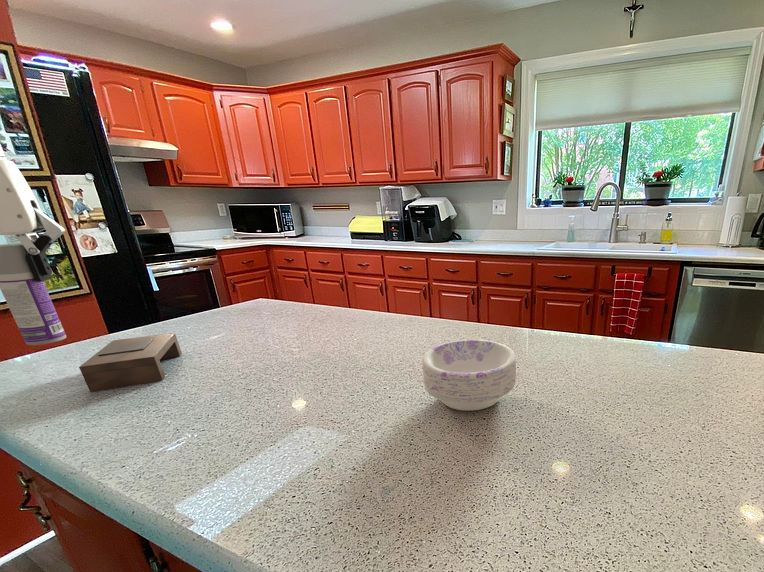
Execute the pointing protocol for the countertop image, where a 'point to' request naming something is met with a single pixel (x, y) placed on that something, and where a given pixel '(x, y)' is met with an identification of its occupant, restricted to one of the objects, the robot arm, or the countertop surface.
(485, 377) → the paper bowls
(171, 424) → the countertop surface
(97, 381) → the shelf
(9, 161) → the robot arm
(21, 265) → the container
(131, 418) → the countertop surface
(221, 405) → the countertop surface
